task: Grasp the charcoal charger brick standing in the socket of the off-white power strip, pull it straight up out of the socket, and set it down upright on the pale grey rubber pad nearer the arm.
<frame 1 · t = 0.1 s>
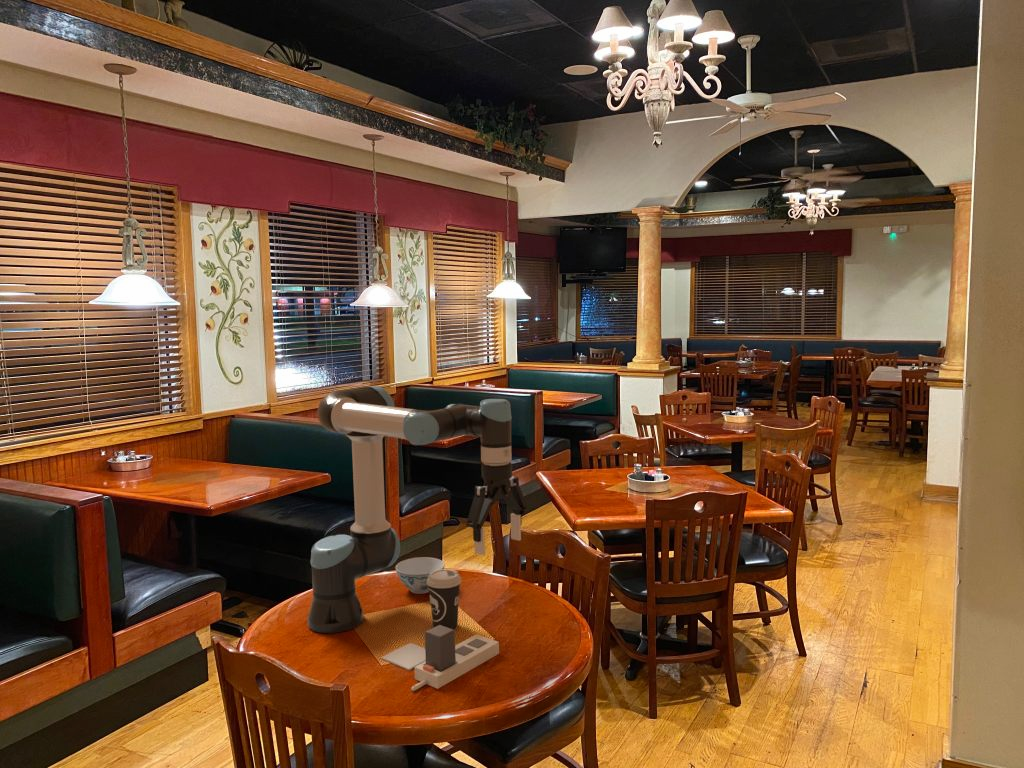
hand: (498, 546, 189), 28 cm above the table, fingers open, 13 cm apart
power strip: (458, 665, 186), on the table
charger: (440, 667, 182), point 2 cm above the table, touching power strip
pad: (409, 656, 192), on the table
chinaware: (421, 590, 236), on the table
coffee cup: (445, 627, 209), on the table
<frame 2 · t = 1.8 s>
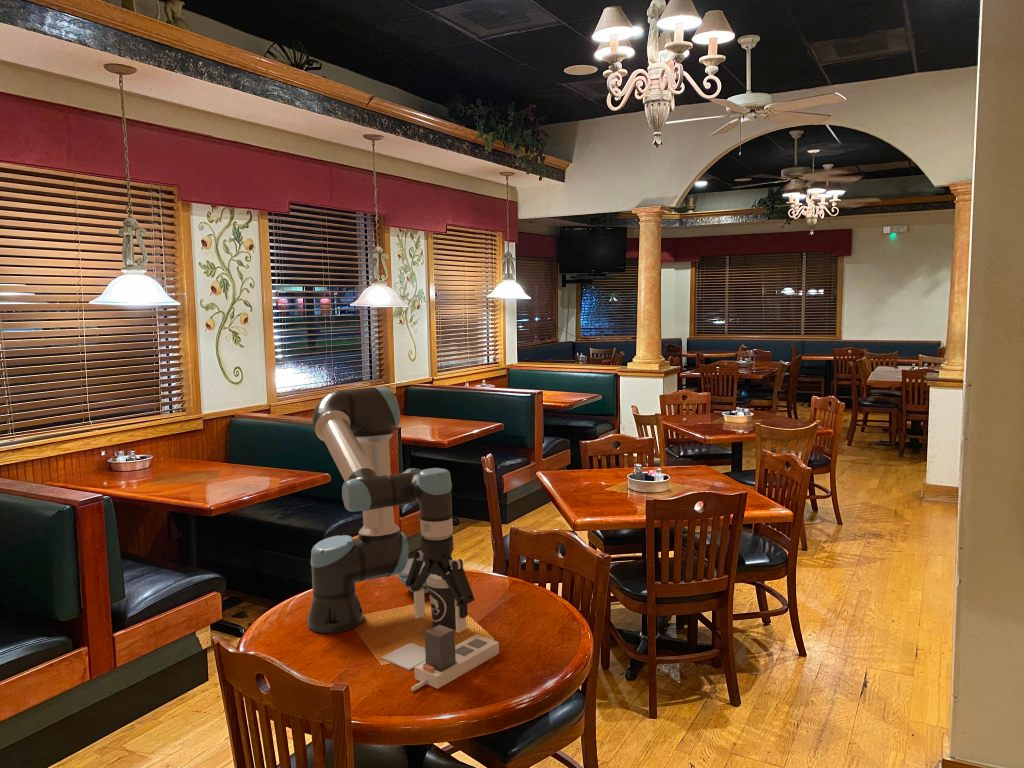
hand: (440, 623, 180), 13 cm above the table, fingers open, 13 cm apart
nothing on the table moved.
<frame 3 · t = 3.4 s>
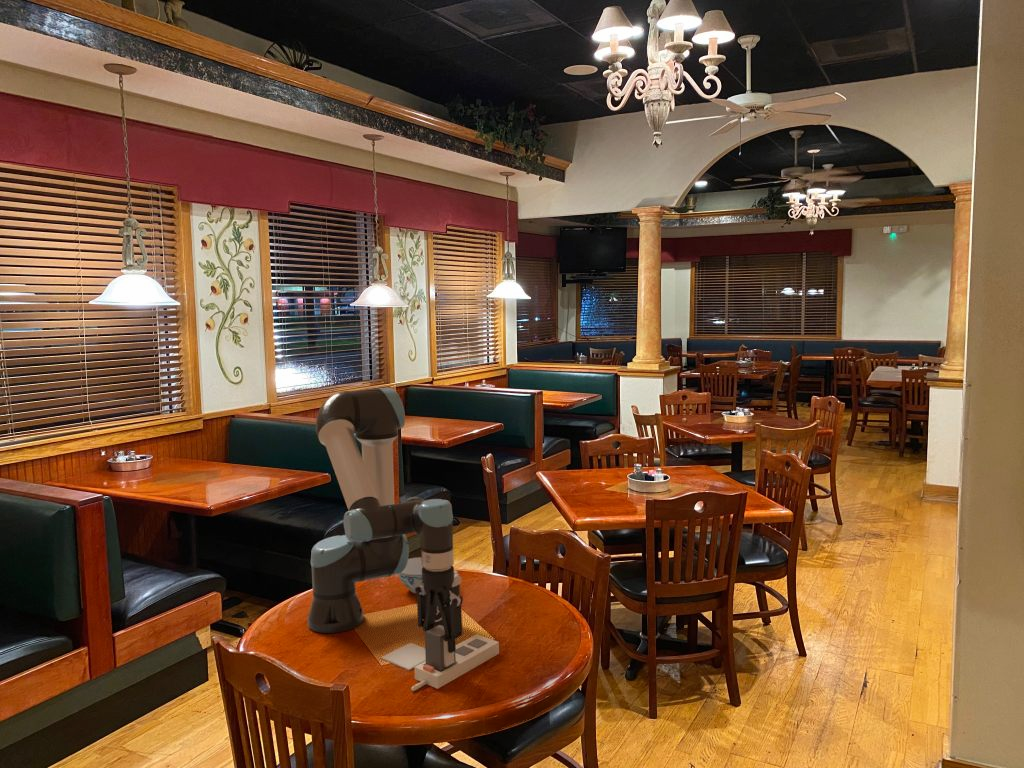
hand: (440, 660, 181), 4 cm above the table, fingers closed on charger, 5 cm apart
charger: (440, 667, 182), point 2 cm above the table, touching gripper, power strip
everything else where it was.
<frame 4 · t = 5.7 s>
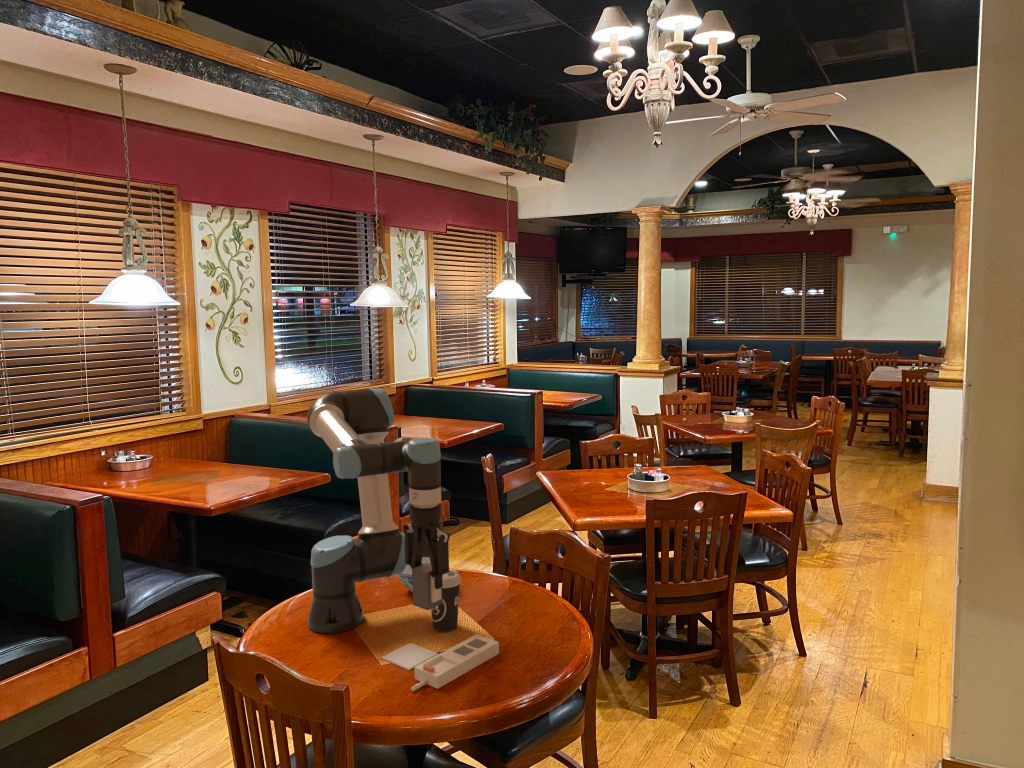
hand: (427, 597, 183), 18 cm above the table, fingers closed on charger, 5 cm apart
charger: (427, 604, 184), point 16 cm above the table, touching gripper
everything else where it was.
when the fingers open (3 cm above the table, at t = 8.4 s): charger drops 1 cm, resting on pad.
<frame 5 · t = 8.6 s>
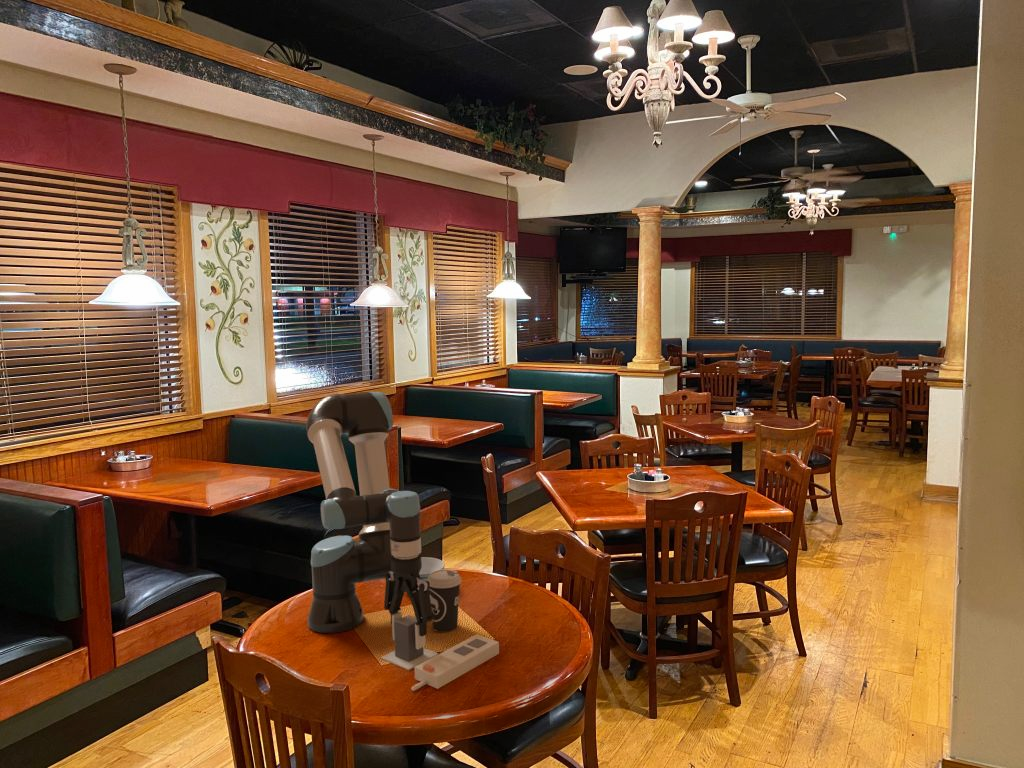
hand: (409, 642, 191), 4 cm above the table, fingers open, 8 cm apart
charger: (409, 655, 191), resting on pad
everything else where it was.
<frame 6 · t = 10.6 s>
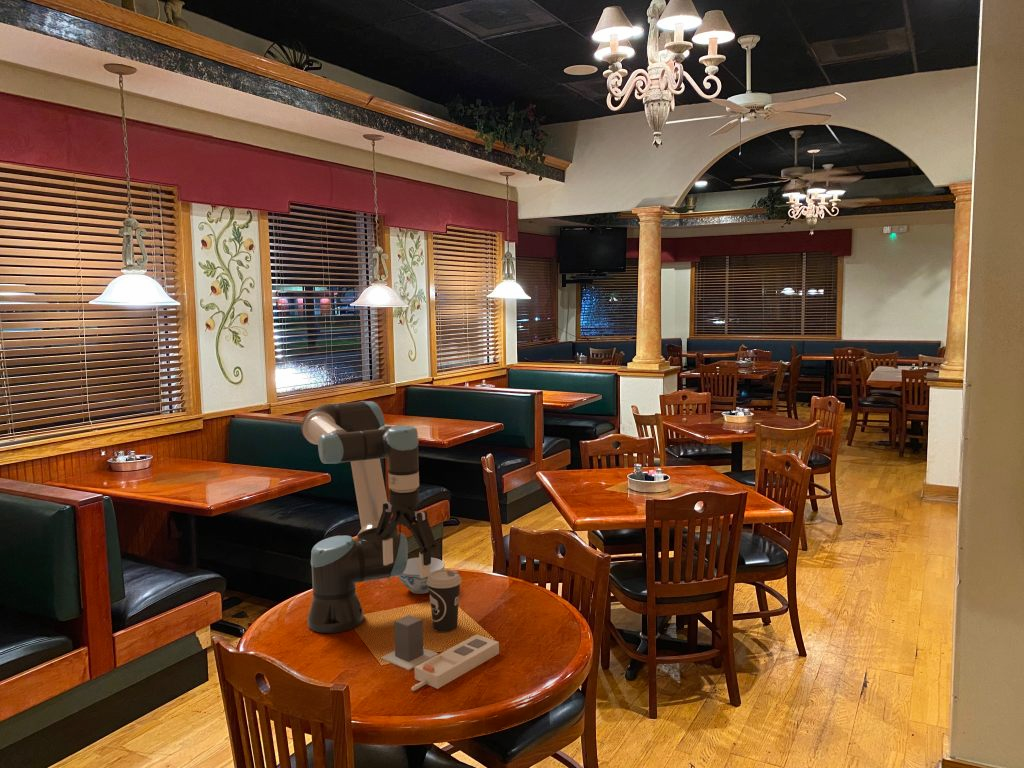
hand: (406, 570, 193), 21 cm above the table, fingers open, 13 cm apart
nothing on the table moved.
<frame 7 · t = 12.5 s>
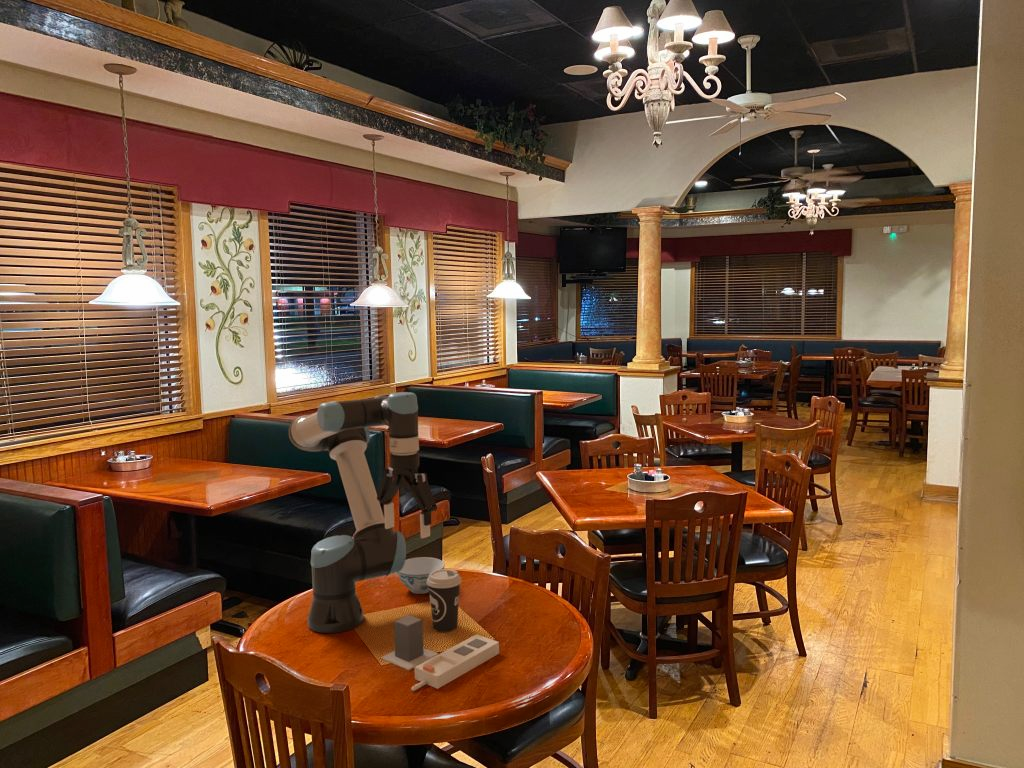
hand: (407, 532, 199), 29 cm above the table, fingers open, 13 cm apart
nothing on the table moved.
at the end: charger inside the target area on the pad (0.0 cm from its centre), point 0.4 cm above the pad's base; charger tilted 0°; the gripper is holding nothing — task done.
